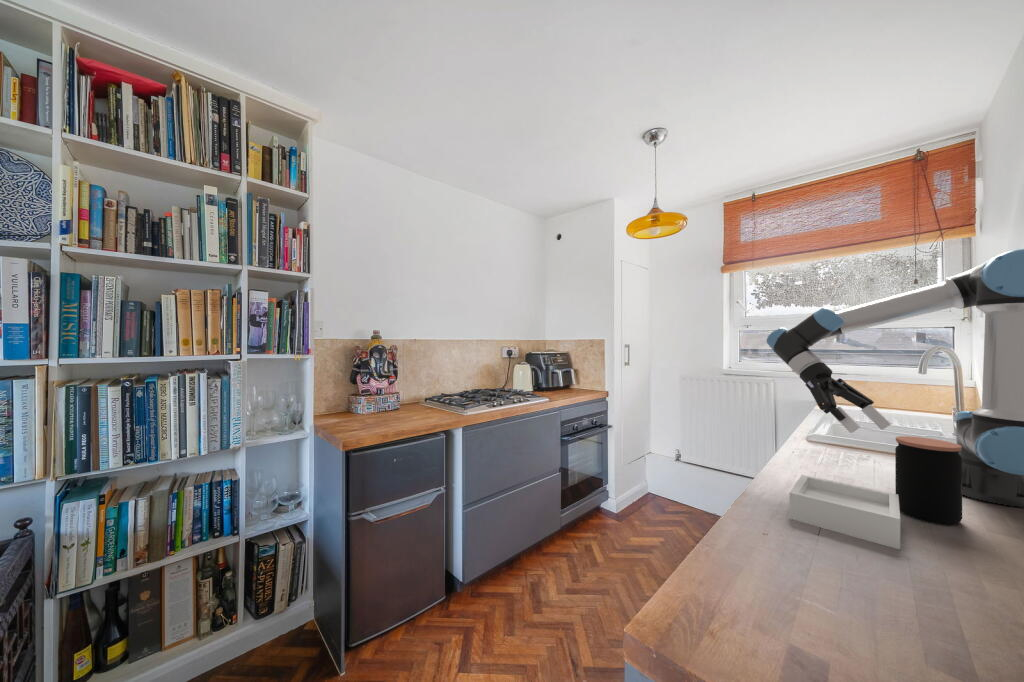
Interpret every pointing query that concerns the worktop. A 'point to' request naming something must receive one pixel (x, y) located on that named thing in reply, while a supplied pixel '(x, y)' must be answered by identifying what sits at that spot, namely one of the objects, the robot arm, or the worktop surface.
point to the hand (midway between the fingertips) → (871, 428)
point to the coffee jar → (929, 479)
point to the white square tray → (847, 509)
